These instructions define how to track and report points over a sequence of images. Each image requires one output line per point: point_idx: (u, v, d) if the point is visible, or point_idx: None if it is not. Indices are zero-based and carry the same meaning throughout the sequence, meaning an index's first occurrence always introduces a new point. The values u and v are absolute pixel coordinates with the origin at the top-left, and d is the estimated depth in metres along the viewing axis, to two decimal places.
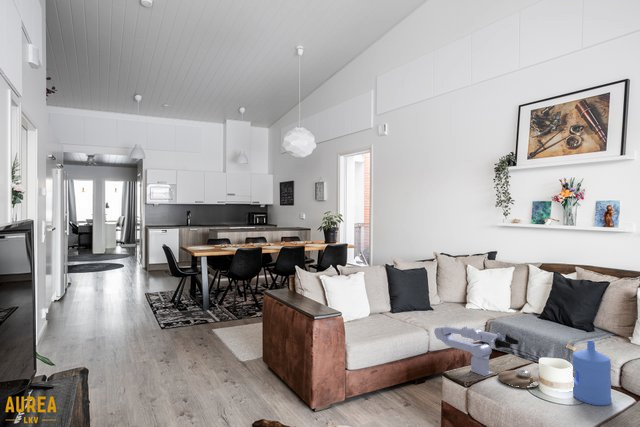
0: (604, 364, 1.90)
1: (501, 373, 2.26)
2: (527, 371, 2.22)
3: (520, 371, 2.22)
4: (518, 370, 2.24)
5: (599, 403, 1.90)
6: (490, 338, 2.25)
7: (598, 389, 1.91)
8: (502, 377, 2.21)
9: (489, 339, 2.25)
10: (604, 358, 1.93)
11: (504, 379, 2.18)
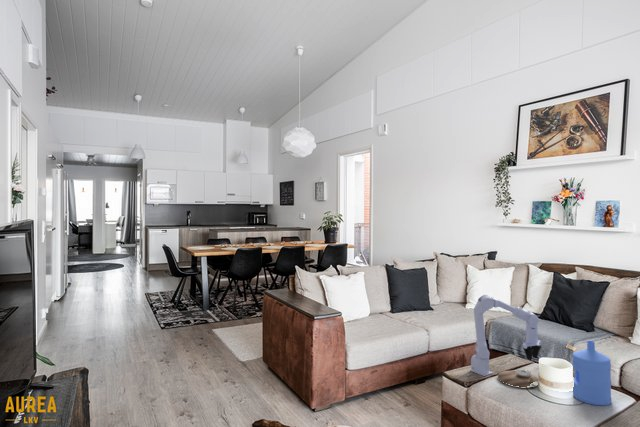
0: (604, 364, 1.90)
1: (501, 373, 2.26)
2: (527, 371, 2.22)
3: (520, 371, 2.22)
4: (518, 370, 2.24)
5: (599, 403, 1.90)
6: (530, 338, 2.25)
7: (598, 389, 1.91)
8: (502, 377, 2.21)
9: (529, 337, 2.25)
10: (604, 358, 1.93)
11: (504, 379, 2.18)
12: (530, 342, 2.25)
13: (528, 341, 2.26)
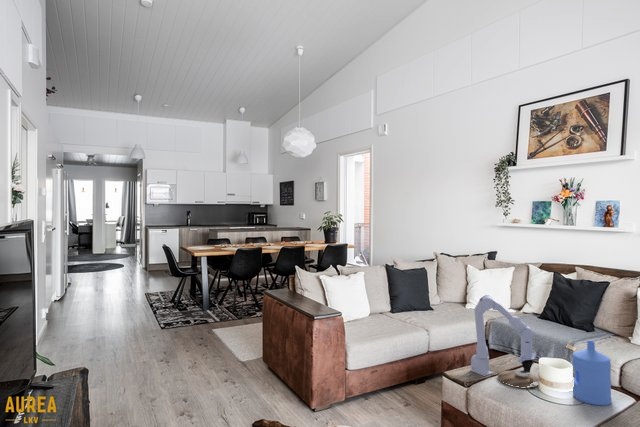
0: (604, 364, 1.90)
1: (501, 373, 2.26)
2: (526, 371, 2.21)
3: (519, 371, 2.22)
4: (517, 370, 2.23)
5: (599, 403, 1.90)
6: (525, 352, 2.22)
7: (598, 389, 1.91)
8: (502, 377, 2.21)
9: (524, 351, 2.23)
10: (604, 358, 1.93)
11: (504, 379, 2.18)
12: (525, 356, 2.22)
13: (523, 355, 2.23)
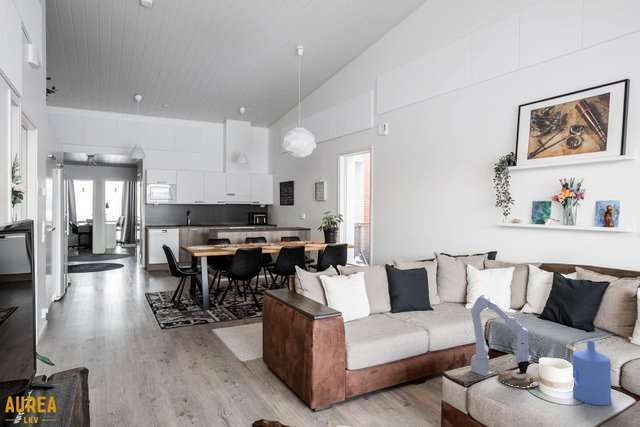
0: (604, 364, 1.90)
1: (501, 373, 2.26)
2: (522, 373, 2.19)
3: (515, 373, 2.19)
4: (513, 372, 2.21)
5: (599, 403, 1.90)
6: (521, 353, 2.20)
7: (597, 389, 1.91)
8: (502, 377, 2.21)
9: (520, 352, 2.21)
10: (604, 358, 1.93)
11: (504, 379, 2.18)
12: (521, 357, 2.20)
13: (519, 356, 2.21)
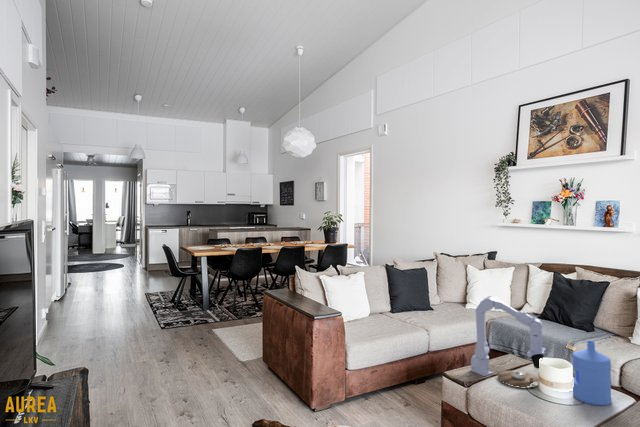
0: (604, 364, 1.90)
1: (501, 373, 2.26)
2: (522, 373, 2.19)
3: (515, 373, 2.19)
4: (513, 372, 2.21)
5: (599, 403, 1.90)
6: (535, 346, 2.14)
7: (597, 389, 1.91)
8: (502, 377, 2.21)
9: (533, 344, 2.15)
10: (604, 358, 1.93)
11: (504, 379, 2.18)
12: (535, 350, 2.14)
13: (532, 349, 2.15)
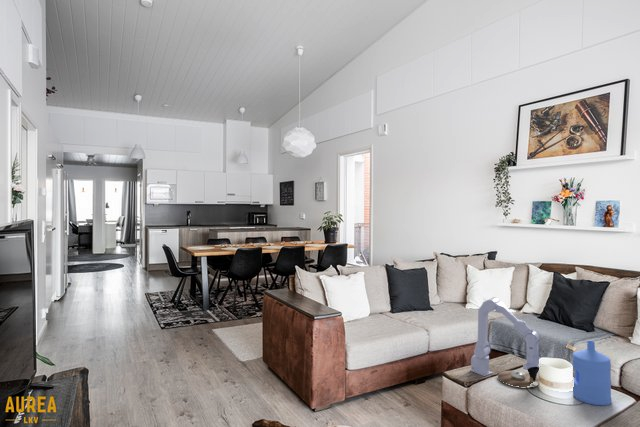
0: (604, 364, 1.90)
1: (501, 373, 2.26)
2: (522, 373, 2.19)
3: (515, 373, 2.19)
4: (513, 372, 2.21)
5: (599, 403, 1.90)
6: (531, 358, 2.12)
7: (597, 389, 1.91)
8: (502, 377, 2.21)
9: (529, 357, 2.13)
10: (604, 358, 1.93)
11: (504, 379, 2.18)
12: (531, 363, 2.12)
13: (529, 362, 2.13)
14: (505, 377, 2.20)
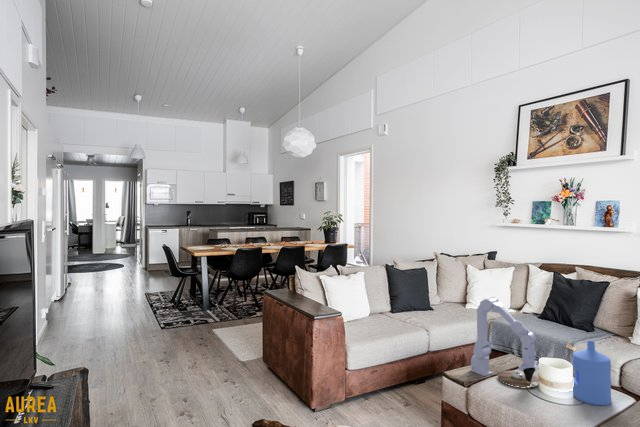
0: (604, 364, 1.90)
1: (507, 371, 2.28)
2: (522, 374, 2.18)
3: (514, 372, 2.20)
4: (513, 371, 2.22)
5: (599, 403, 1.90)
6: (526, 359, 2.10)
7: (598, 389, 1.91)
8: (501, 374, 2.25)
9: (525, 358, 2.11)
10: (604, 358, 1.93)
11: (500, 375, 2.23)
12: (526, 364, 2.10)
13: (524, 362, 2.11)
14: (504, 375, 2.24)
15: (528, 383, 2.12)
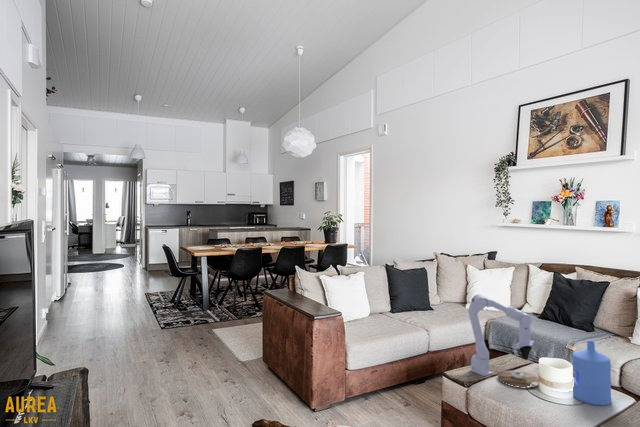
0: (604, 364, 1.90)
1: (507, 371, 2.28)
2: (522, 374, 2.18)
3: (514, 372, 2.20)
4: (513, 371, 2.22)
5: (599, 403, 1.90)
6: (523, 338, 2.25)
7: (597, 389, 1.91)
8: (501, 374, 2.25)
9: (522, 337, 2.25)
10: (604, 358, 1.93)
11: (500, 375, 2.23)
12: (523, 342, 2.25)
13: (521, 341, 2.26)
14: (504, 375, 2.24)
15: (528, 383, 2.12)
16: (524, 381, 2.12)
